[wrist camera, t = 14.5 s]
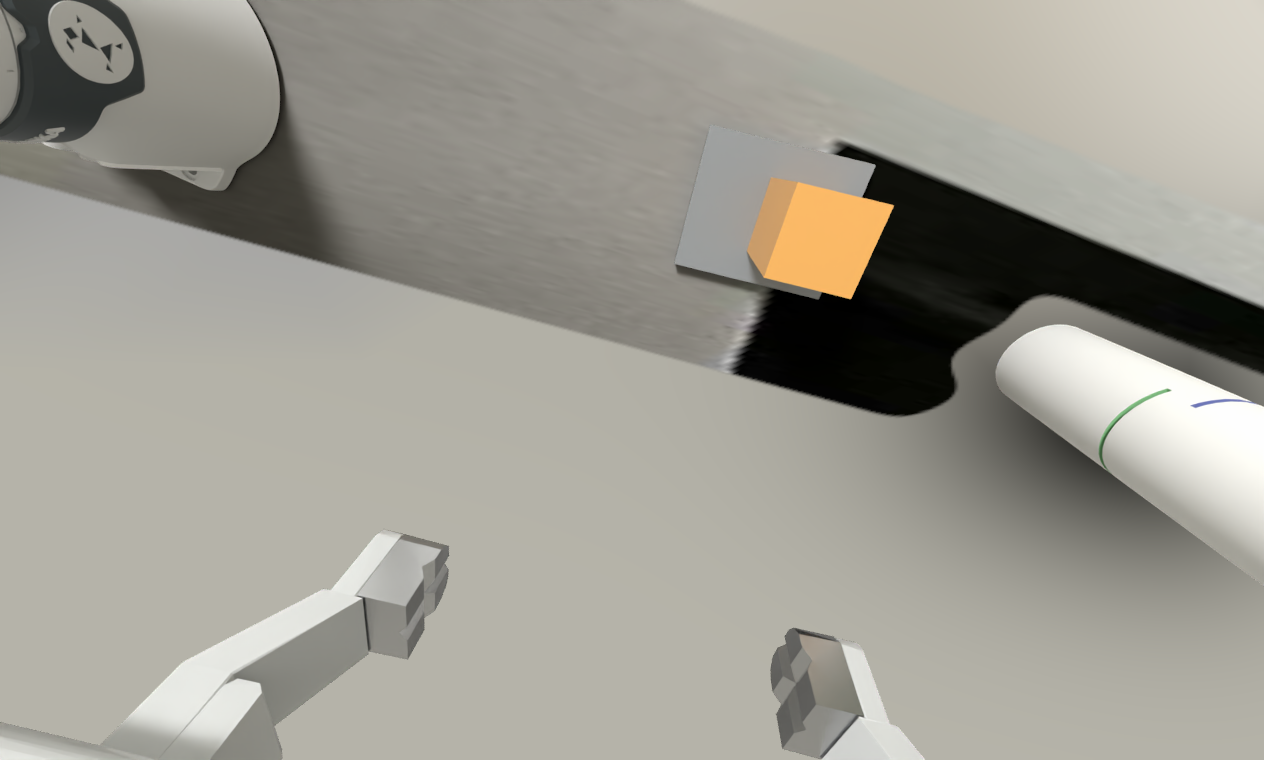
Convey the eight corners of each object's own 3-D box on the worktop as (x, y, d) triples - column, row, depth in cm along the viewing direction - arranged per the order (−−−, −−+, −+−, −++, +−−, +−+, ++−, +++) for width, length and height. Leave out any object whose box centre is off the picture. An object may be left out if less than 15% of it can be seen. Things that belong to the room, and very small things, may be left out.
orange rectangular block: (746, 251, 35) (763, 277, 27) (771, 177, 32) (797, 182, 24) (813, 267, 35) (851, 299, 27) (843, 194, 32) (893, 205, 24)
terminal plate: (674, 261, 37) (674, 263, 36) (709, 125, 32) (710, 124, 31) (815, 296, 37) (818, 299, 36) (870, 164, 32) (875, 165, 31)
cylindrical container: (1090, 393, 38) (1675, 730, 15) (994, 410, 39) (1396, 737, 17) (1100, 314, 35) (1835, 587, 12) (996, 336, 36) (1481, 611, 14)
